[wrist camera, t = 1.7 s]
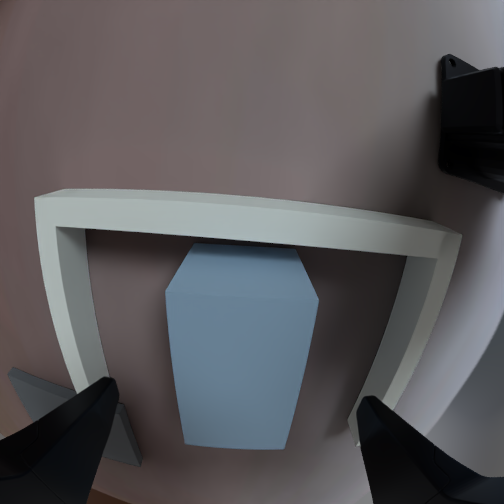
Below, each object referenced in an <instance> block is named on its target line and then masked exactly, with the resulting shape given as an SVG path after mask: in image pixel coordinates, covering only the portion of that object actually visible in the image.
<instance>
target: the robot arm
mask: <svg viewBox="0 0 504 504" xmlns="http://www.w3.org/2000/svg"><path fill="white" fill-rule="evenodd" d="M449 61H450V62H451V64H452V66H451V65H450V63H449ZM441 67H442V112H441V138H440V150H439V160H438V163H439V168H440V169H441V171H442V172H444V173H447V174H450V175H453V176H456V177H459V178H463V179H466V180H468V181H471V182H474V183H477V184H480V185H483V186H485V187H488V188H491V189H493V190H496V191H499V192H501V193H504V67H501V68H498V67H492V68H488V69H483V70H478V69H476V68H475V67H473V66H471V65H470V64H468V63H466V62H464V61H463V60H461V59H459V58H457V57H455V56H453V55H451V54H447V55H445V56H443V57H442V59H441ZM447 160H448V161H449V166H448V167H447ZM118 400H119V392H118V388H117V385H116V381H115V379H114V378H111V377H107V376H104V377H102V378H100V379H99V380H97V381H96V382H94V383H93V384H91V385H90V386H88V387H87V388H85V389H84V390H82V391H81V392H79V393H78V394H76V395H75V396H73V397H72V398H70V399H69V400H67V401H66V402H64V403H63V404H61V405H60V406H58V407H57V408H55V409H54V410H52V411H50V412H49V413H47V414H46V415H44V416H43V417H41V418H40V419H39V420H36V421H35V422H33V423H32V424H30V425H29V426H27V427H25V428H24V429H22V430H20V431H18V432H16V433H14V434H12V435H10V436H8V437H6V438H4V439H2V440H0V504H86V503H87V499H88V496H89V493H90V490H91V487H92V484H93V481H94V478H95V475H96V472H97V469H98V466H99V463H100V460H101V457H102V454H103V452H104V449H105V446H106V443H107V441H108V438H109V435H110V432H111V429H112V425H113V420H114V416H115V412H116V408H117V404H118ZM356 418H357V425H358V433H359V441H360V448H361V452H362V456H363V460H364V464H365V469H366V473H367V477H368V481H369V486H370V490H371V494H372V498H373V504H504V477H485V476H481V475H480V474H478V473H476V472H474V471H473V470H471V469H469V468H467V467H466V466H464V465H462V464H461V463H459V462H458V461H456V460H455V459H453V458H451V457H450V456H449V455H447V454H446V453H445V452H443V451H442V450H441V449H439V448H438V447H437V446H434V444H433V443H432V442H430V441H429V440H428V439H427V438H426V437H424V436H423V435H422V434H421V433H419V432H418V431H417V430H416V429H414V428H413V427H412V426H411V425H410V424H408V423H407V422H406V421H405V420H404V419H402V418H401V417H400V416H399V415H397V414H396V413H395V412H394V411H393V410H391V409H390V408H389V407H388V406H387V405H385V404H384V403H383V402H382V401H381V400H379V399H378V398H377V397H376V396H374V395H369V396H364V397H363V398H362V400H361V402H360V404H359V406H358V408H357V411H356Z"/></svg>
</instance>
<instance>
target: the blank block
mask: <svg viewBox="0 0 504 504" xmlns="http://www.w3.org/2000/svg"><path fill="white" fill-rule="evenodd" d="M165 295H166V309H167V320H168V331H169V341H170V350H171V358H172V366H173V374H174V381H175V388H176V395H177V401H178V407H179V413H180V419H181V425H182V430H183V436H184V441H185V444H188V445H196V446H205V447H216V448H231V449H260V450H274V449H284V448H285V444H286V441H287V437H288V434H289V430H290V427H291V423H292V419H293V416H294V412H295V408H296V404H297V400H298V396H299V392H300V388H301V384H302V380H303V375H304V371H305V367H306V362H307V358H308V353H309V349H310V344H311V339H312V334H313V329H314V324H315V319H316V314H317V308H318V303H319V299H318V297H317V295H316V292H315V290H314V288H313V286H312V284H311V281H310V279H309V277H308V275H307V273H306V271H305V268H304V266H303V264H302V262H301V260H300V258H299V256H298V254H297V252H296V249H290V248H273V247H256V246H238V245H220V244H202V243H194V244H193V246H192V247H191V249H190V251H189V252H188V254H187V256H186V257H185V259H184V261H183V262H182V264H181V266H180V267H179V269H178V271H177V272H176V274H175V276H174V277H173V279H172V281H171V282H170V284H169V286H168V288H167V289H166V291H165Z"/></svg>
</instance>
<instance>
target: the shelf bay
mask: <svg viewBox="0 0 504 504" xmlns="http://www.w3.org/2000/svg"><path fill="white" fill-rule="evenodd" d="M34 199H35V216H36V228H37V238H38V246H39V253H40V260H41V267H42V273H43V278H44V284H45V289H46V294H47V298H48V303H49V307H50V311H51V315H52V319H53V323H54V327H55V331H56V334H57V338H58V341H59V344H60V347H61V351H62V354H63V357H64V360H65V363H66V366H67V369H68V371H69V374H70V377H71V380H72V382H73V385H74V387H75V390H76V392H77V394H78V393H79V392H81V391H82V390H84V389H85V388H87V387H88V386H90V385H91V384H93V383H94V382H96V381H97V380H99V379H100V378H102V377H104V376H107V377H110V376H109V373H108V369H107V365H106V361H105V357H104V353H103V349H102V344H101V340H100V335H99V331H98V326H97V320H96V315H95V309H94V304H93V297H92V291H91V284H90V276H89V268H88V259H87V248H86V236H85V228H90V229H105V230H119V231H132V232H146V233H159V234H172V235H185V236H197V237H209V238H222V239H234V240H245V241H257V242H269V243H280V244H291V245H302V246H313V247H324V248H335V249H345V250H356V251H366V252H376V253H387V254H397V255H406V256H407V260H406V264H405V268H404V271H403V275H402V279H401V282H400V286H399V289H398V293H397V296H396V299H395V303H394V306H393V309H392V312H391V315H390V318H389V321H388V324H387V327H386V330H385V333H384V335H383V338H382V341H381V344H380V346H379V349H378V352H377V354H376V357H375V359H374V362H373V364H372V367H371V369H370V371H369V374H368V376H367V379H366V381H365V383H364V385H363V388H362V390H361V392H360V394H359V397H358V399H357V401H356V403H355V405H354V407H353V409H352V411H351V413H350V415H349V417H348V419H347V421H348V424H349V427H350V430H351V434H352V437H353V440H354V443H355V447H357V446H360V441H359V433H358V425H357V418H356V411H357V408H358V406H359V404H360V402H361V400H362V398H363V397H364V396H369V395H374V396H376V397H377V398H378V399H379V400H381V401H382V402H383V403H384V404H385V405H387V406H388V407H389V408H390V409H391V410H394V408H395V406H396V404H397V403H398V401H399V399H400V397H401V396H402V394H403V392H404V390H405V388H406V386H407V384H408V382H409V380H410V379H411V377H412V375H413V373H414V371H415V369H416V366H417V364H418V362H419V360H420V358H421V356H422V354H423V351H424V349H425V347H426V345H427V342H428V340H429V338H430V335H431V333H432V330H433V328H434V325H435V323H436V320H437V318H438V315H439V312H440V310H441V307H442V304H443V301H444V298H445V296H446V293H447V290H448V286H449V283H450V280H451V277H452V274H453V270H454V267H455V263H456V260H457V256H458V252H459V248H460V244H461V240H462V236H463V235H462V234H460V233H458V232H456V231H454V230H451V229H449V228H447V227H445V226H443V225H441V224H438V223H436V222H434V221H429V220H424V219H418V218H412V217H406V216H400V215H394V214H388V213H382V212H375V211H369V210H362V209H355V208H348V207H340V206H333V205H325V204H317V203H308V202H299V201H290V200H281V199H271V198H260V197H249V196H238V195H225V194H211V193H196V192H179V191H158V190H129V189H63V190H59V191H55V192H52V193H48V194H45V195H41V196H38V197H34Z"/></svg>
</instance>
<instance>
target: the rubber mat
mask: <svg viewBox="0 0 504 504" xmlns="http://www.w3.org/2000/svg"><path fill="white" fill-rule="evenodd" d="M8 376H9V379H10V381H11V383H12V385H13V387H14V388H15V390H16V392H17V394H18V396H19V398H20V400H21V402H22V403H23V405H24V407H25V409H26V410H27V412H28V414H29V415H30V417H31V419H32V420H33V422H35V421H36V420H39V419H40V418H41V417H43V416H44V415H46V414H47V413H49V412H50V411H52V410H54V409H55V408H57V407H58V406H60V405H61V404H63V403H64V402H66V401H67V400H69V399H70V398H72V397H73V396H75V395H76V394H77V392H76V391H74V390H71V389H68V388H65V387H62V386H59V385H56V384H53V383H50V382H48V381H45V380H42V379H40V378H37V377H35V376H32V375H30V374H28V373H25V372H23V371H21V370H18V369H16V368H14V367H13V368H12V369H11V370H10V372H9V373H8ZM102 457H105V458H109V459H112V460H115V461H119V462H123V463H126V464H130V465H134V466H138V467H141V463H142V460H143V458H142V455H141V453H140V450H139V448H138V445H137V442H136V439H135V437H134V434H133V431H132V428H131V425H130V422H129V419H128V416H127V413H126V410H125V407H124V404H120V403H118V404H117V408H116V412H115V416H114V420H113V425H112V429H111V432H110V435H109V438H108V441H107V443H106V446H105V449H104V452H103V454H102Z"/></svg>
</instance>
